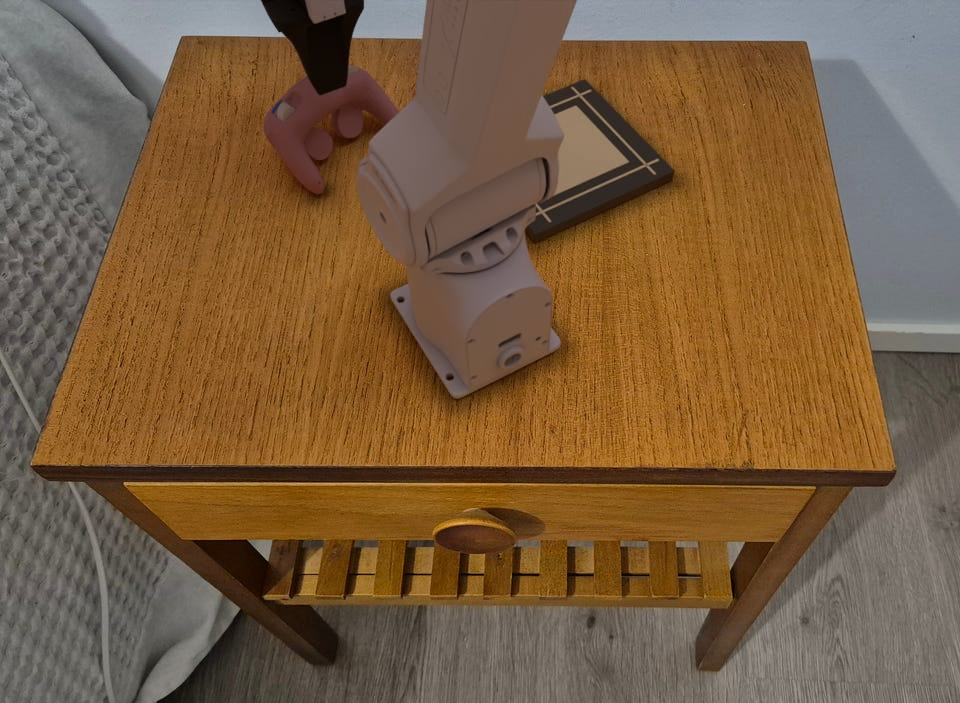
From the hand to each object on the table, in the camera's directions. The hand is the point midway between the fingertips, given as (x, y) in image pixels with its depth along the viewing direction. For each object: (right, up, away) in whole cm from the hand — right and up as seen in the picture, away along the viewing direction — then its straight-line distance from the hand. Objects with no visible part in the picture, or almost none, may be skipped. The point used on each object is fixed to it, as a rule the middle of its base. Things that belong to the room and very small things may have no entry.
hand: (310, 55), depth 56 cm
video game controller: (+1, -5, +7) cm, 9 cm away
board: (+18, -6, +6) cm, 20 cm away
